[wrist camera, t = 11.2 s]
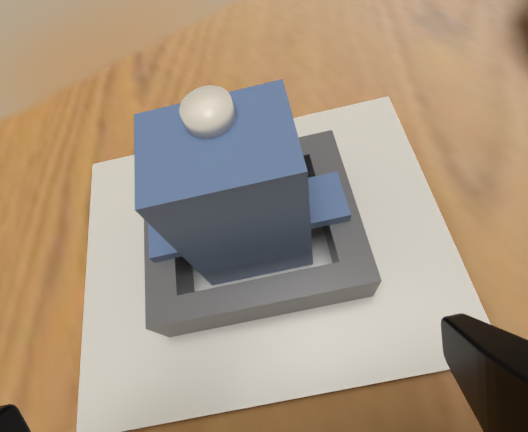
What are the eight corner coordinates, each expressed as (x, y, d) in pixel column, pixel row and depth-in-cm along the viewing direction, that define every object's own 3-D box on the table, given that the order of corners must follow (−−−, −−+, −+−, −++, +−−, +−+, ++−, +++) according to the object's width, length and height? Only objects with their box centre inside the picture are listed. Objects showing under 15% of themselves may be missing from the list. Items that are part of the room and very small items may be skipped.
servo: (331, 192, 21) (338, 51, 12) (350, 256, 19) (375, 144, 10) (172, 226, 21) (71, 115, 13) (176, 293, 19) (61, 215, 11)
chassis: (386, 107, 24) (396, 60, 21) (496, 360, 17) (540, 352, 13) (100, 172, 25) (66, 137, 22) (88, 437, 18) (33, 448, 14)
